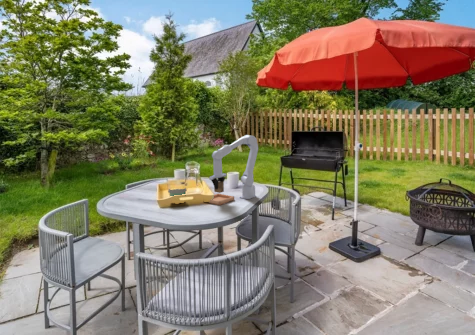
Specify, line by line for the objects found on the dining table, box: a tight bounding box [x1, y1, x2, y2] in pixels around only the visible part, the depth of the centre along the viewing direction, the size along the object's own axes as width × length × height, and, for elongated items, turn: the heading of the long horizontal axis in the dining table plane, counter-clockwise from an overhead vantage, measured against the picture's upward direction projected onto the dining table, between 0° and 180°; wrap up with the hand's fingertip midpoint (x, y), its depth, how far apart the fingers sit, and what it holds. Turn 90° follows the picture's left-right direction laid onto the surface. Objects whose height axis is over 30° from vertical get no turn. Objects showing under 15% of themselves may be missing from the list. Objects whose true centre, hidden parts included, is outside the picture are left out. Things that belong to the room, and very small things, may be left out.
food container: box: [167, 187, 187, 197], centre depth 202 cm, size 12×6×10 cm, turn 101°
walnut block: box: [213, 181, 225, 194], centre depth 204 cm, size 4×5×7 cm
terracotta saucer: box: [208, 193, 235, 206], centre depth 206 cm, size 15×15×2 cm
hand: (218, 188), depth 204 cm, fingers closed on walnut block, 4 cm apart
